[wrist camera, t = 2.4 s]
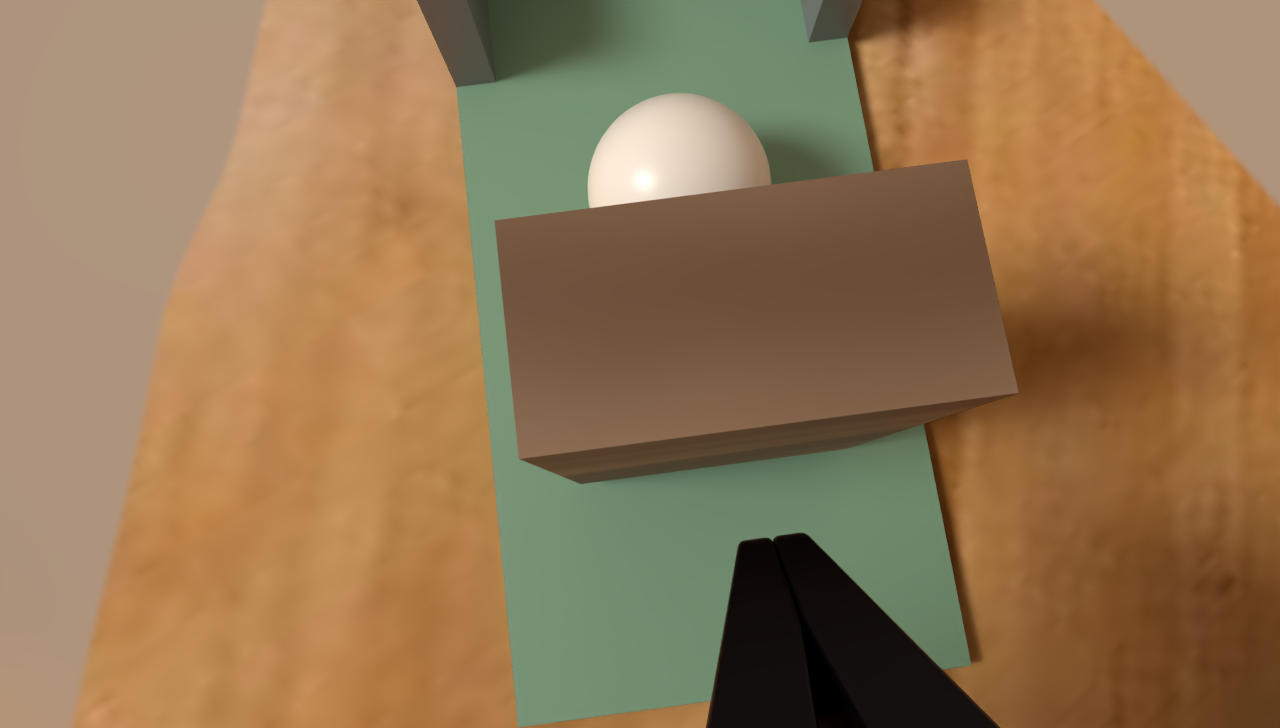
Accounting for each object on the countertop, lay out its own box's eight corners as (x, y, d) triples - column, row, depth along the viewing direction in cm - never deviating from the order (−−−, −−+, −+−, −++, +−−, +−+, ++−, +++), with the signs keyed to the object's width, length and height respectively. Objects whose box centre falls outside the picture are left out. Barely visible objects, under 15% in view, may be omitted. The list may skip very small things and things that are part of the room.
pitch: (965, 662, 18) (971, 665, 17) (520, 723, 18) (518, 727, 17) (813, -114, 21) (815, -123, 21) (443, -68, 21) (441, -76, 21)
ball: (770, 290, 19) (801, 231, 15) (604, 311, 19) (592, 258, 15) (744, 135, 20) (768, 42, 16) (584, 156, 20) (569, 68, 16)
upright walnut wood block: (846, 448, 18) (1019, 393, 9) (580, 484, 18) (518, 459, 9) (823, 319, 18) (966, 159, 10) (565, 353, 18) (494, 220, 10)
